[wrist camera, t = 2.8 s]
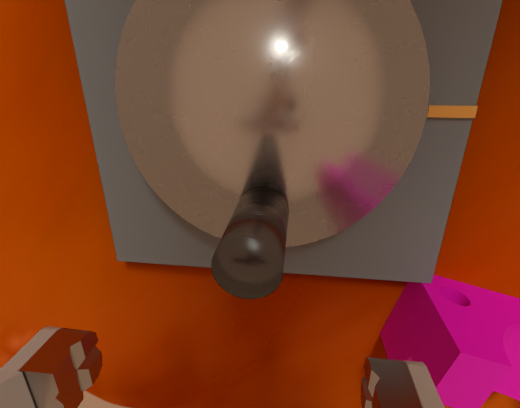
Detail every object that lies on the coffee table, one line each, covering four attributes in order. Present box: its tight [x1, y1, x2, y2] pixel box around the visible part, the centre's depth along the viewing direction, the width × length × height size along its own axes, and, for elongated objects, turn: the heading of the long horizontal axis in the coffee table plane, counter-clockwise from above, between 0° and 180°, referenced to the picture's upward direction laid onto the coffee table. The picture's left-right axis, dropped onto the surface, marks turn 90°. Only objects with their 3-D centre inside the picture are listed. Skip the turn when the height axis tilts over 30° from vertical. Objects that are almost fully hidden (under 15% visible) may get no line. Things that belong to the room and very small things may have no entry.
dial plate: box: [65, 0, 503, 283], centre depth 19 cm, size 22×22×2 cm
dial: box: [115, 0, 430, 299], centre depth 15 cm, size 16×16×8 cm
